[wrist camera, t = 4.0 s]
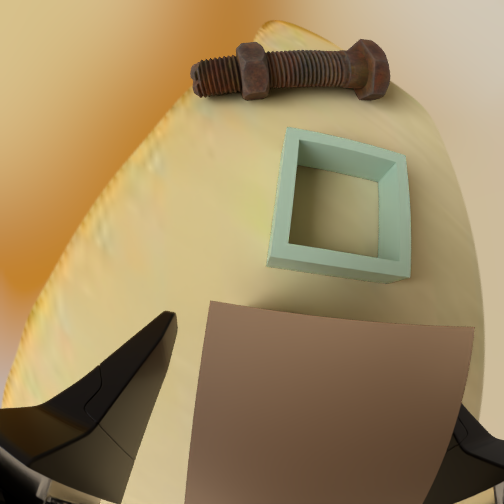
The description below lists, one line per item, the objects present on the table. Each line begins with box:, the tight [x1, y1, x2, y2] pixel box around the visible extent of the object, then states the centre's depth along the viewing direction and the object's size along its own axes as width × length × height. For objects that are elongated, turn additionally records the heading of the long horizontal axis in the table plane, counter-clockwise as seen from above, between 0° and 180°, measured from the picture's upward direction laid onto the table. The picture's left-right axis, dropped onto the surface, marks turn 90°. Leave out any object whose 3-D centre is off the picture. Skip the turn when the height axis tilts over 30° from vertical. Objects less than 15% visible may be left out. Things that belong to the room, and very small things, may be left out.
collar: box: [266, 127, 411, 284], centre depth 16 cm, size 8×8×3 cm
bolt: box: [190, 39, 390, 100], centre depth 18 cm, size 6×5×15 cm
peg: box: [185, 301, 475, 504], centre depth 9 cm, size 4×4×13 cm
